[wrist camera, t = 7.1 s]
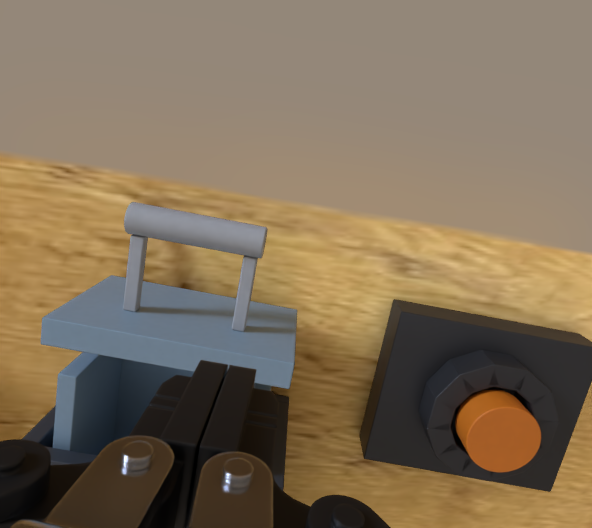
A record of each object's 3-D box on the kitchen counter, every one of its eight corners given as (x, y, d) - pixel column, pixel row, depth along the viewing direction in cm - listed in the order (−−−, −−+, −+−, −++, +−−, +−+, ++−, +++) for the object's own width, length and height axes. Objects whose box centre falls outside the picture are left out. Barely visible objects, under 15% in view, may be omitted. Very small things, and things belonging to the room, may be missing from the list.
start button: (446, 444, 24) (457, 466, 22) (465, 383, 23) (478, 401, 22) (513, 456, 24) (529, 478, 22) (533, 395, 23) (552, 414, 22)
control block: (359, 436, 28) (367, 481, 24) (393, 298, 26) (409, 323, 22) (532, 467, 28) (568, 516, 24) (579, 333, 26) (627, 364, 22)
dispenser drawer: (119, 186, 24) (49, 197, 17) (314, 223, 24) (318, 248, 18) (92, 469, 28) (26, 566, 21) (259, 498, 28) (245, 603, 22)
